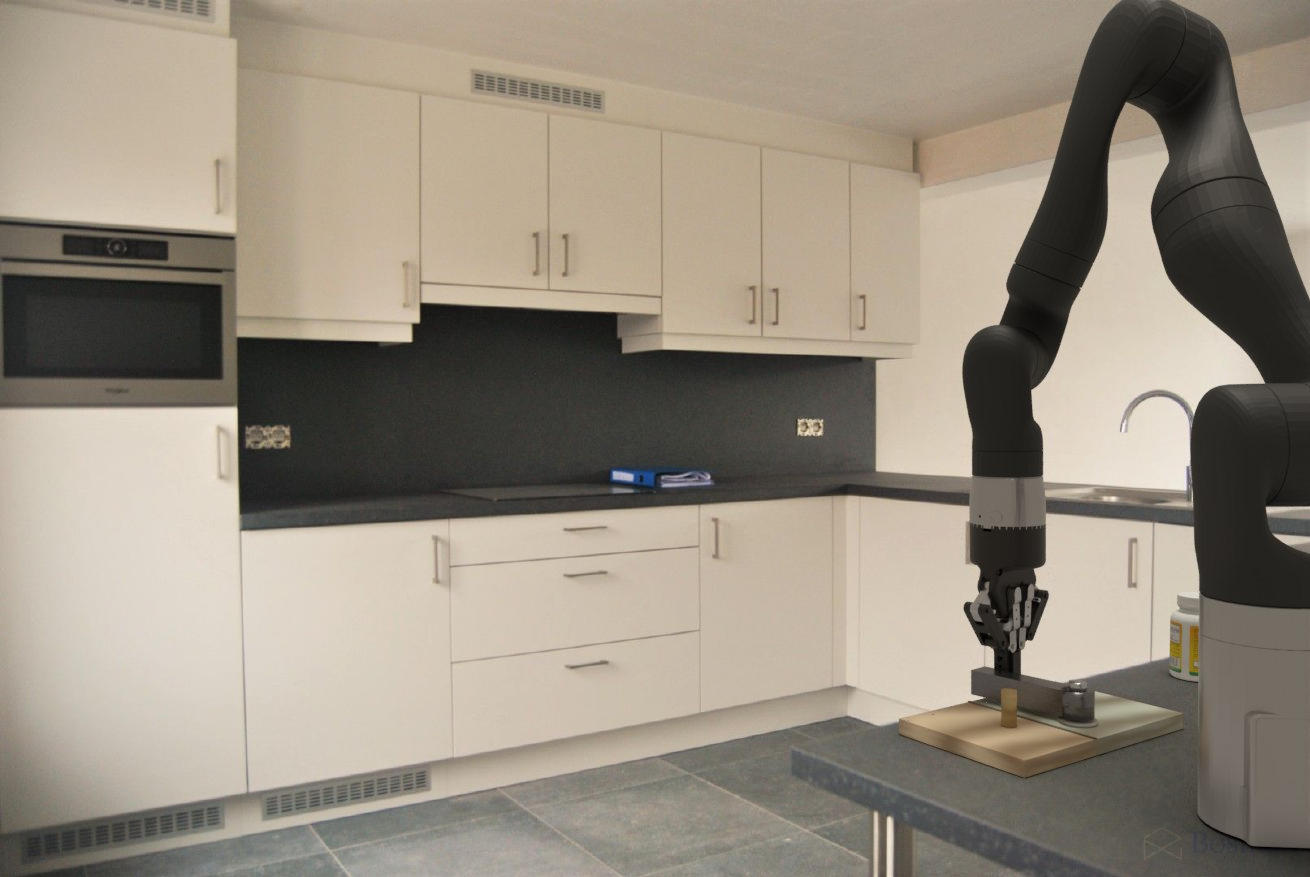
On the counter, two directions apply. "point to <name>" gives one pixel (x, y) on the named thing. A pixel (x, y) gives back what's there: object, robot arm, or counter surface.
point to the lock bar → (1037, 693)
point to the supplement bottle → (1185, 637)
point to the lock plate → (1037, 731)
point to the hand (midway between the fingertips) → (1007, 685)
